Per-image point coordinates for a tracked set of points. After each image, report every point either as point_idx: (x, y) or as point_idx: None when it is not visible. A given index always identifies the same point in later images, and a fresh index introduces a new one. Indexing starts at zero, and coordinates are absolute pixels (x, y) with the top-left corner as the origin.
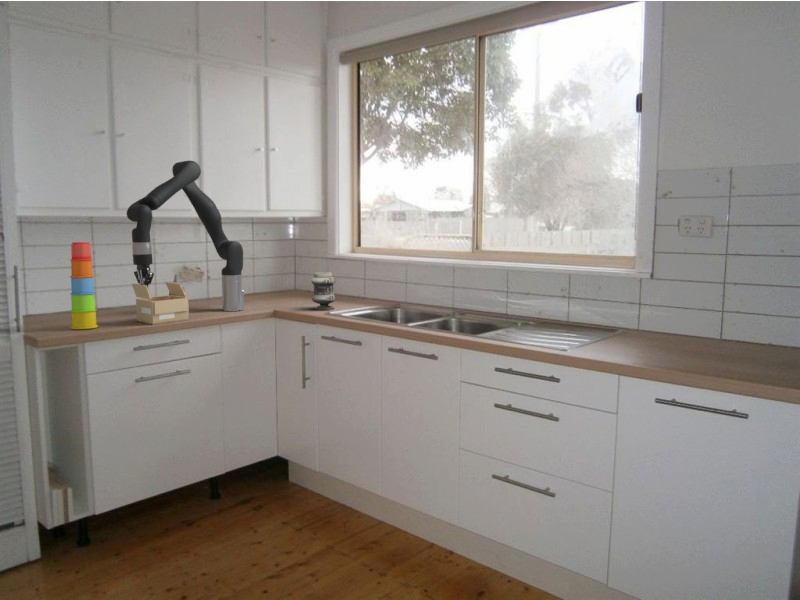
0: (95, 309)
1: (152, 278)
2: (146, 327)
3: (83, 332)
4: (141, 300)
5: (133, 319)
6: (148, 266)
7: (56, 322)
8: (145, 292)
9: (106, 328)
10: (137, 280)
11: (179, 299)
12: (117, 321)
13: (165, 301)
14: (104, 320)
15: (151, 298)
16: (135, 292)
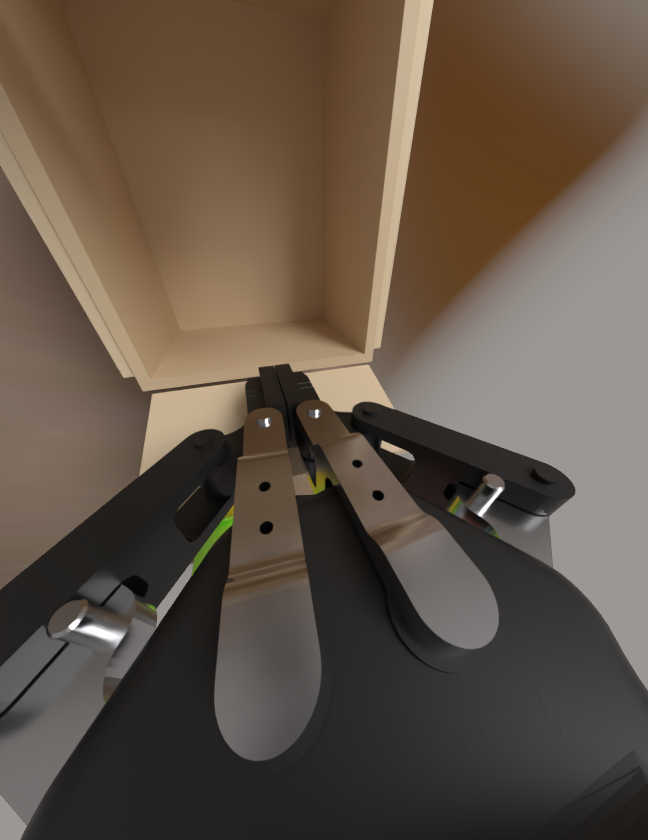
0: (231, 518)
1: (461, 434)
2: (356, 364)
3: (303, 492)
4: (235, 377)
5: (71, 320)
6: (624, 697)
7: (45, 546)
8: (349, 411)
9: None
10: (195, 516)
11: (425, 48)
12: (123, 401)
13: (390, 259)
14: (52, 435)
15: (82, 231)
16: (168, 431)
